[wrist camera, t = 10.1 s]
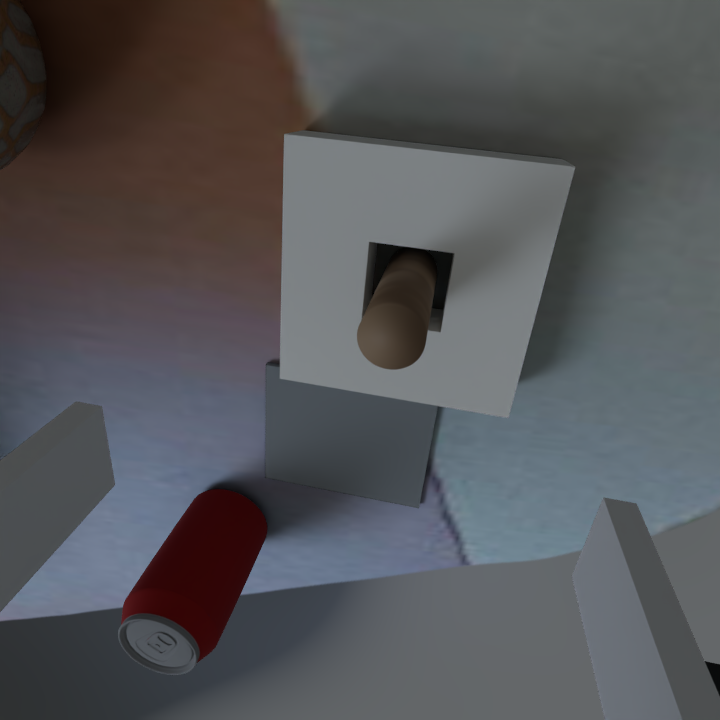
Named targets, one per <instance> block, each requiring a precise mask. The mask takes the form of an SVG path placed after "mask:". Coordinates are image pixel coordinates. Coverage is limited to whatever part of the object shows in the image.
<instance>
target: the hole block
mask: <svg viewBox="0 0 720 720" xmlns="http://www.w3.org/2000/svg"><path fill="white" fill-rule="evenodd" d="M574 170H575V166H573V165H572V164H570V163H568V162H567V161H565V160H564V159H557V158H548V157H539V156H530V155H521V154H512V153H503V152H494V151H485V150H476V149H467V148H458V147H449V146H440V145H431V144H422V143H413V142H404V141H395V140H387V139H378V138H369V137H360V136H351V135H342V134H333V133H324V132H315V131H306V130H303V131H297V132H292V133H287V134H284V168H283V223H282V277H281V332H280V379H285V380H290V381H296V382H302V383H308V384H314V385H319V386H325V387H331V388H337V389H343V390H348V391H354V392H360V393H366V394H371V395H377V396H383V397H389V398H395V399H400V400H406V401H412V402H418V403H424V404H429V405H435V406H441V407H447V408H453V409H458V410H464V411H470V412H476V413H482V414H487V415H493V416H499V417H505V418H509V414H510V410H511V407H512V403H513V399H514V395H515V392H516V388H517V384H518V380H519V377H520V373H521V369H522V365H523V362H524V358H525V354H526V350H527V347H528V343H529V339H530V335H531V332H532V328H533V324H534V320H535V317H536V313H537V309H538V305H539V302H540V298H541V294H542V290H543V287H544V283H545V279H546V275H547V272H548V268H549V264H550V260H551V257H552V253H553V249H554V245H555V242H556V238H557V234H558V230H559V227H560V223H561V219H562V215H563V212H564V208H565V204H566V200H567V197H568V193H569V189H570V185H571V182H572V178H573V174H574ZM377 243H383V244H390V245H397V246H405V247H412V248H419V249H427V250H434V251H441V252H449V253H453V257H452V263H451V269H450V274H449V280H448V286H447V291H446V297H445V303H444V308H443V310H441V309H434V308H432V309H431V315H430V321H429V327H428V333H427V338H426V344H425V348H424V351H423V353H422V355H421V356H420V358H419V359H418V360H417V361H416V362H415V363H413V364H412V365H410V366H408V367H406V368H402V369H397V370H390V369H384V368H381V367H378V366H376V365H374V364H373V363H371V362H370V361H369V360H367V359H366V358H365V356H364V355H363V354H362V352H361V350H360V348H359V346H358V342H357V330H358V327H359V324H360V322H361V320H362V318H363V316H364V314H365V312H366V310H367V308H368V305H369V303H370V301H371V299H372V289H373V280H374V270H375V261H376V251H377Z"/></svg>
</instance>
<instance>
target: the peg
mask: <svg viewBox="0 0 720 720" xmlns="http://www.w3.org/2000/svg"><path fill="white" fill-rule="evenodd" d="M437 272H438V269H437V264H436V261H435V259H434V257H433V256H432V255H431V254H430V253H429V252H428V251H427V250H425V249H419V248H412V247H404V248H402V249H400V250H398V251H397V252H396V253H395V254H394V255H393V256H392V257H391V259H390V261H389V263H388V265H387V267H386V270H385V272H384V274H383V276H382V278H381V280H380V282H379V284H378V286H377V289H376V291H375V293H374V295H373V297H372V299H371V301H370V303H369V305H368V308H367V310H366V312H365V314H364V316H363V318H362V320H361V322H360V324H359V327H358V330H357V342H358V346H359V348H360V350H361V352H362V354H363V355H364V356H365V358H366V359H367V360H369V361H370V362H371V363H373V364H374V365H376V366H378V367H381V368H384V369H390V370H397V369H402V368H406V367H408V366H410V365H412V364H413V363H415V362H416V361H417V360H418V359H419V358H420V356H421V355H422V353H423V351H424V348H425V344H426V338H427V333H428V327H429V321H430V315H431V309H432V303H433V297H434V291H435V285H436V279H437Z"/></svg>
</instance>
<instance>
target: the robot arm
mask: <svg viewBox="0 0 720 720" xmlns="http://www.w3.org/2000/svg"><path fill="white" fill-rule="evenodd" d="M114 485H115V481H114V475H113V469H112V463H111V457H110V451H109V445H108V439H107V434H106V428H105V422H104V416H103V410H102V406H98V405H92V404H87V403H82V402H75V403H73V404H72V405H71V406H69V407H68V408H67V409H66V410H64V411H63V412H62V413H61V414H59V415H58V416H57V417H55V418H54V419H53V420H52V421H50V422H49V423H48V424H46V425H45V426H44V427H43V428H41V429H40V430H39V431H37V432H36V433H35V434H34V435H32V436H31V437H30V438H28V439H27V440H26V441H25V442H23V443H22V444H21V445H20V446H18V447H17V448H16V449H14V450H13V451H12V452H11V453H9V454H8V455H7V456H5V457H4V458H3V459H2V460H0V612H1V611H2V610H3V609H4V607H5V606H6V605H7V604H8V603H9V602H10V601H11V600H12V599H13V597H14V596H15V595H16V594H17V593H18V592H19V591H20V590H21V589H22V587H23V586H24V585H25V584H26V583H27V582H28V581H29V580H30V579H31V577H32V576H33V575H34V574H35V573H36V572H37V571H38V570H39V569H40V567H41V566H42V565H43V564H44V563H45V562H46V561H47V560H48V559H49V558H50V556H51V555H52V554H53V553H54V552H55V551H56V550H57V549H58V548H59V546H60V545H61V544H62V543H63V542H64V541H65V540H66V539H67V538H68V536H69V535H70V534H71V533H72V532H73V531H74V530H75V529H76V528H77V526H78V525H79V524H80V523H81V522H82V521H83V520H84V519H85V518H86V516H87V515H88V514H89V513H90V512H91V511H92V510H93V509H94V508H95V507H96V505H97V504H98V503H99V502H100V501H101V500H102V499H103V498H104V497H105V495H106V494H107V493H108V492H109V491H110V490H111V489H112V488H113V487H114ZM572 579H573V584H574V588H575V592H576V597H577V601H578V606H579V610H580V614H581V619H582V623H583V627H584V631H585V636H586V640H587V645H588V649H589V653H590V658H591V662H592V666H593V671H594V675H595V679H596V684H597V688H598V692H599V697H600V701H601V705H602V710H603V714H604V718H605V720H720V664H715V663H710V662H706V661H704V659H703V657H702V655H701V652H700V650H699V647H698V645H697V643H696V640H695V638H694V636H693V633H692V631H691V629H690V627H689V624H688V622H687V620H686V617H685V615H684V613H683V610H682V608H681V606H680V603H679V601H678V599H677V597H676V594H675V592H674V589H673V587H672V585H671V583H670V580H669V578H668V576H667V573H666V571H665V569H664V566H663V564H662V562H661V560H660V557H659V555H658V553H657V550H656V548H655V546H654V543H653V541H652V539H651V536H650V534H649V532H648V529H647V527H646V525H645V522H644V520H643V518H642V515H641V513H640V511H639V508H638V506H637V504H636V503H631V502H625V501H620V500H614V499H609V498H603V500H602V502H601V505H600V507H599V510H598V512H597V515H596V517H595V520H594V522H593V525H592V527H591V530H590V532H589V535H588V537H587V540H586V542H585V545H584V547H583V549H582V552H581V555H580V557H579V559H578V562H577V564H576V567H575V569H574V572H573V574H572Z"/></svg>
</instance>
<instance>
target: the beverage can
mask: <svg viewBox="0 0 720 720" xmlns="http://www.w3.org/2000/svg"><path fill="white" fill-rule="evenodd" d="M266 535H267V523H266V519H265V517H264V515H263V513H262V512H261V510H260V509H259V508H258V507H257V506H256V505H255V504H254V503H253V502H252V501H251V500H249V499H248V498H246V497H245V496H243V495H241V494H239V493H236V492H233V491H230V490H224V489H213V490H208V491H205V492H203V493H201V494H199V495H198V496H197V497H196V498H195V499H194V500H193V502H192V503H191V505H190V506H189V507H188V509H187V510H186V512H185V513H184V514H183V516H182V517H181V519H180V520H179V522H178V523H177V524H176V526H175V527H174V529H173V530H172V532H171V533H170V535H169V536H168V537H167V539H166V540H165V542H164V543H163V545H162V546H161V548H160V549H159V551H158V552H157V553H156V555H155V556H154V558H153V559H152V561H151V562H150V564H149V565H148V567H147V568H146V570H145V571H144V573H143V574H142V576H141V577H140V579H139V580H138V582H137V583H136V585H135V586H134V588H133V589H132V591H131V592H130V594H129V595H128V597H127V598H126V600H125V602H124V605H123V612H122V613H123V614H122V623H121V627H120V628H119V631H118V638H119V642H120V644H121V646H122V648H123V649H124V651H125V652H126V653H127V654H128V655H129V656H130V657H131V658H132V659H133V660H135V661H136V662H137V663H139V664H141V665H142V666H144V667H146V668H148V669H150V670H153V671H156V672H159V673H163V674H169V675H180V674H184V673H187V672H189V671H191V670H192V669H193V668H194V667H195V665H196V663H197V662H199V661H200V660H201V659H203V658H204V657H205V656H207V655H208V654H209V653H210V652H212V650H213V649H214V648H215V647H216V645H217V643H218V641H219V639H220V637H221V635H222V633H223V630H224V628H225V626H226V624H227V622H228V620H229V618H230V616H231V614H232V611H233V609H234V607H235V605H236V603H237V601H238V598H239V596H240V594H241V592H242V590H243V587H244V585H245V583H246V581H247V579H248V576H249V574H250V572H251V570H252V568H253V565H254V563H255V561H256V559H257V556H258V554H259V552H260V550H261V547H262V545H263V543H264V540H265V538H266Z"/></svg>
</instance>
